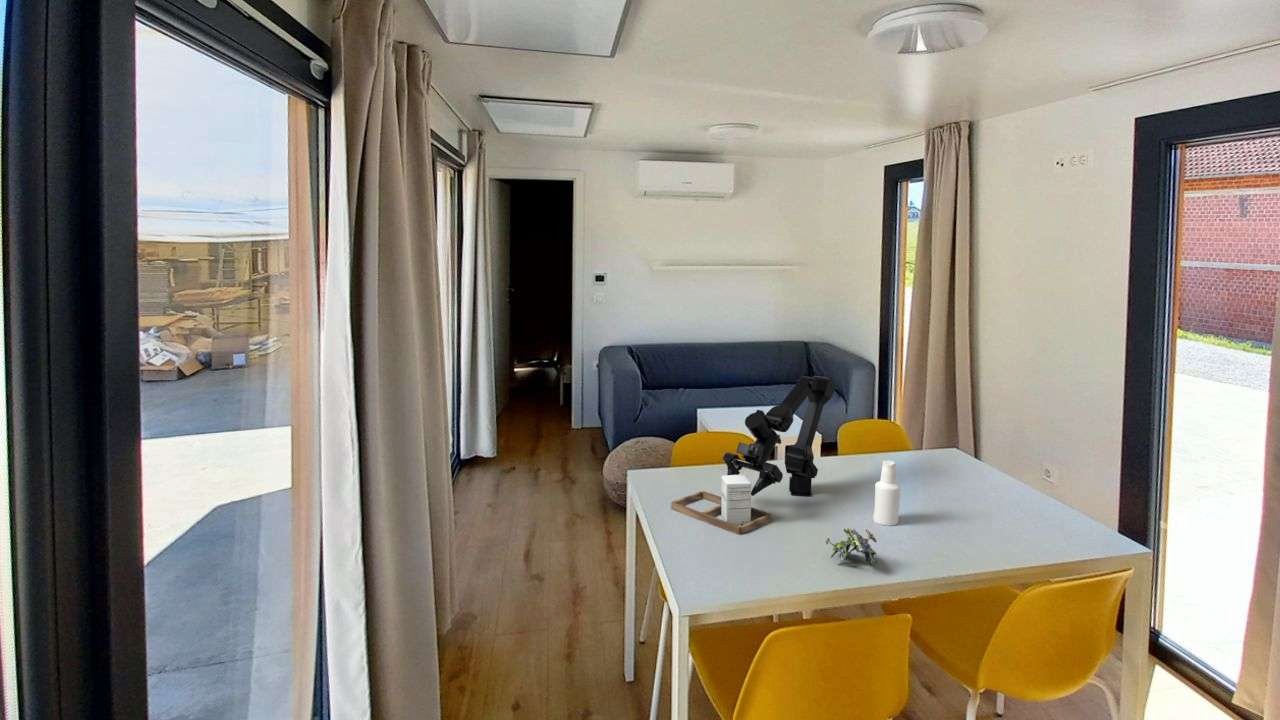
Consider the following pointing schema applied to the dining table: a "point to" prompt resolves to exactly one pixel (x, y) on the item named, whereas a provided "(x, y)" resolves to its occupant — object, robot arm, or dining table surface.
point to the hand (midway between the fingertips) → (738, 491)
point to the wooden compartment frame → (708, 515)
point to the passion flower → (855, 546)
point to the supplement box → (736, 499)
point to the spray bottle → (887, 496)
